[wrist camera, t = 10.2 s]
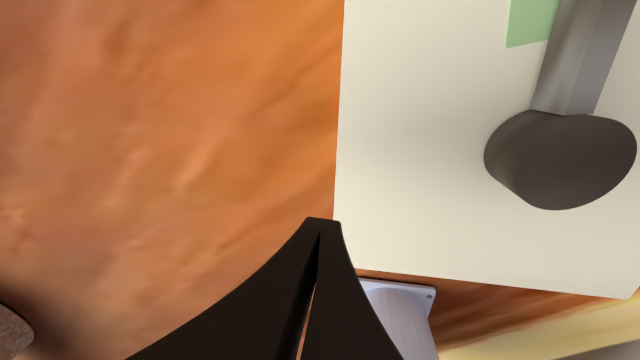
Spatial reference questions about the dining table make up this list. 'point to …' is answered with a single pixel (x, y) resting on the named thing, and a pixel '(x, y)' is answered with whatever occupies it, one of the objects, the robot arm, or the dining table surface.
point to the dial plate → (470, 149)
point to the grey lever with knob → (568, 115)
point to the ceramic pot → (13, 334)
